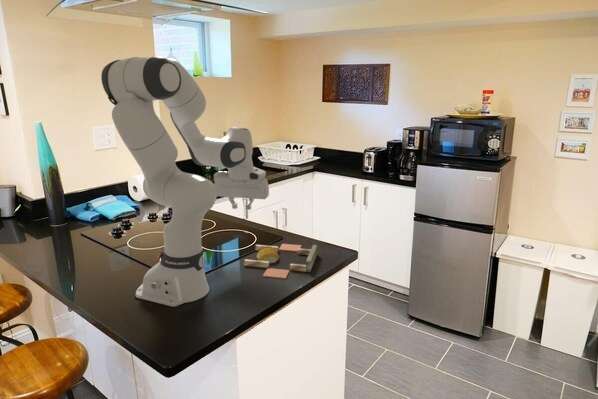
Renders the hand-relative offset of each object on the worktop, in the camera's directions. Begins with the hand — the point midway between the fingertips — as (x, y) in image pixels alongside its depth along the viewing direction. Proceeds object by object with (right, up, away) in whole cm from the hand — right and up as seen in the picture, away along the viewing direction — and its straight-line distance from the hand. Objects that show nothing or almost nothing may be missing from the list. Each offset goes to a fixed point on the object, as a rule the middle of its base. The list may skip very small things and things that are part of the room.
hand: (241, 208), depth 154 cm
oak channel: (+15, -19, +3) cm, 24 cm away
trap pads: (+15, -19, +3) cm, 24 cm away
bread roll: (+10, -19, +4) cm, 22 cm away
